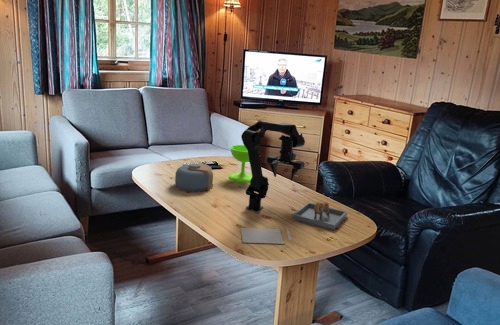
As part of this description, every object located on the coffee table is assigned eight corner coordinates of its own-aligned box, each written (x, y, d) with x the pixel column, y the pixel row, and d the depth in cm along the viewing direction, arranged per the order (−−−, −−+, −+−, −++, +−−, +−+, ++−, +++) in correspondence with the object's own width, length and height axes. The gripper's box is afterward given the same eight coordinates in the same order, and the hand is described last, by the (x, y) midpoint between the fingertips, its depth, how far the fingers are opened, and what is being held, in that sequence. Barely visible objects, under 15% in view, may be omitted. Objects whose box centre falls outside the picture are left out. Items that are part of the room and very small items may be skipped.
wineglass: (225, 174, 264) (227, 144, 259) (251, 174, 269) (253, 145, 264) (232, 183, 249) (234, 151, 244) (259, 182, 254) (262, 151, 249)
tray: (333, 230, 196) (334, 225, 195) (291, 219, 204) (292, 214, 204) (346, 216, 213) (347, 211, 212) (307, 206, 222) (308, 202, 221)
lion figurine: (321, 223, 201) (324, 204, 199) (310, 220, 203) (312, 202, 201) (330, 213, 214) (333, 195, 212) (320, 210, 216) (322, 193, 214)
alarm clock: (217, 191, 234) (218, 169, 231) (179, 193, 227) (180, 170, 223) (206, 180, 251) (208, 159, 248) (171, 181, 244) (172, 160, 241)
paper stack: (239, 220, 199) (239, 219, 199) (294, 222, 201) (294, 221, 201) (242, 243, 177) (242, 242, 176) (304, 246, 179) (304, 244, 179)
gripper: (310, 149, 222) (306, 178, 227) (276, 142, 231) (273, 171, 235) (301, 153, 213) (298, 184, 217) (266, 146, 221) (264, 176, 225)
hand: (283, 178), depth 224 cm, fingers open, 9 cm apart
